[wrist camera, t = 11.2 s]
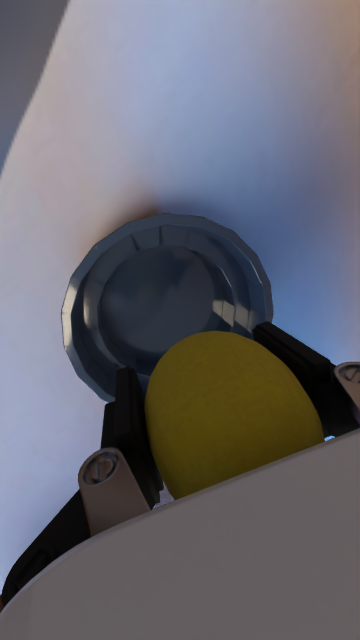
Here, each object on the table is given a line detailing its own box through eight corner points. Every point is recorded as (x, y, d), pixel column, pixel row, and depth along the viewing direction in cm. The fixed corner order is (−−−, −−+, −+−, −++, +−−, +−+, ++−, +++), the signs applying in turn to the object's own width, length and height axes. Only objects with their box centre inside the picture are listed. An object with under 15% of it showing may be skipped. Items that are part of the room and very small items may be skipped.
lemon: (146, 300, 11) (192, 434, 4) (257, 314, 13) (442, 431, 5) (131, 404, 13) (143, 637, 6) (230, 406, 14) (344, 594, 7)
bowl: (111, 397, 24) (108, 442, 19) (46, 245, 19) (18, 251, 14) (249, 350, 25) (281, 380, 20) (225, 198, 20) (260, 188, 15)
